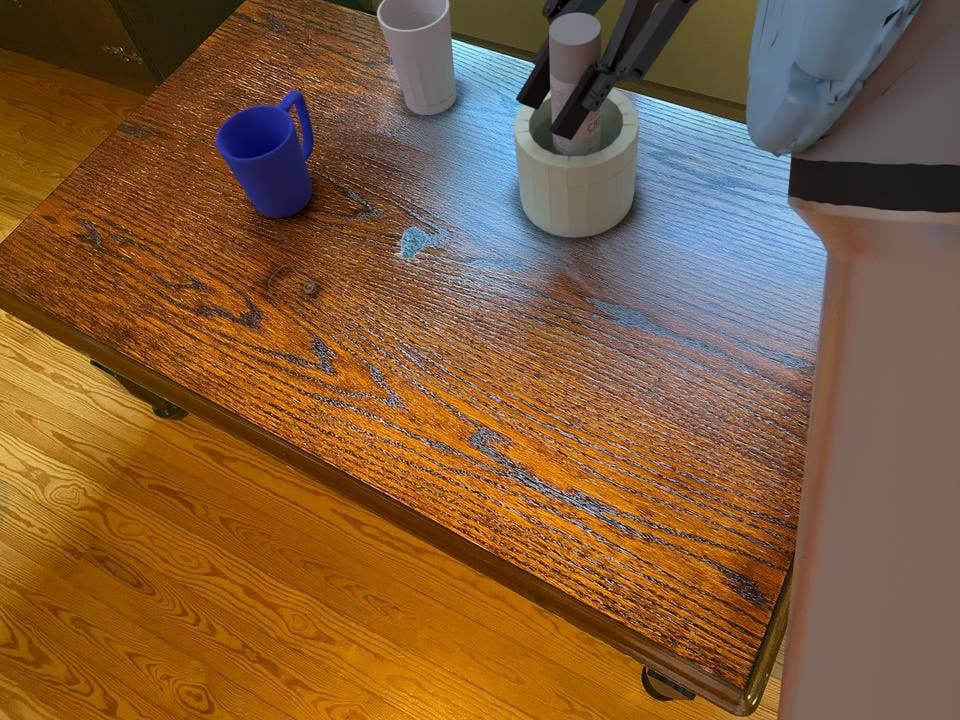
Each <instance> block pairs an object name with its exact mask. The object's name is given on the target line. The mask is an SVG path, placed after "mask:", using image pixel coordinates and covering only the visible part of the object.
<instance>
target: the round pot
mask: <svg viewBox="0 0 960 720" xmlns="http://www.w3.org/2000/svg"><path fill="white" fill-rule="evenodd" d="M551 126H552V110H551V90H550V91H549V93H548V94H547V96H546V98H545V99H544V101H543V102H542V104H541V106H540V107H539V109H538V110H536V109H533V108H531V107H528V106H526V105H523V104H521V106H520V107H519V109H518V112H517V114H516V116H515V118H514V120H513V137H514V147H515V148H514V149H515V156H516V166H517V178H518V186H519V196H520V197H519V198H520V201H521V207H522V210H523V212H524V213H525V215H526V217H527V218H528V220H529V221H530V222H532V224H534V226H536V227H537V228H539V229H541V230H542V231H544V232H546V233H549V234H551V235H555V236H557V237H564V238H574V239H575V238H587V237H592V236H596V235H599V234H602V233H604V232H606V231H608V230H611V229H612V228H614V227H615V226H616V225H617V224H619V223H620V222H621V221H622V220H623V219H624V218H625V217H626V216H627V214H628V213H629V212H630V210H631V207H632V204H633V201H634V195H635V188H636V187H635V186H636V175H637V160H638V148H639V137H640V136H639V134H640V119H639V112H638V110H637V109H636V107H635V105H634V103H633V102H632V100H631V99H630V98H629V97H627V96H626V95H625V94H624V93H622V91H619V90H618V89H616V88H614V87H613V88H612V90H611V91H610V93H609V95H608V96H607V98H606V99H605V101H604V102H603V104H602V105H601V135H600V152H596V153H593V154H589V155H586V156H571V157H568V156H562V155H556V154H554V149H553V133H552V132H551V131H550V130H549V129H550V127H551Z"/></svg>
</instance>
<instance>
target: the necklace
mask: <svg viewBox="0 0 960 720" xmlns="http://www.w3.org/2000/svg"><path fill="white" fill-rule="evenodd" d="M285 266H287V264H284V265H283V267H285ZM288 266H289V267H290V268H292V270H294V271H295V273H296V275H299V273H298V272H297V271H296V270H295V269H294V267H293V266H292V265H290V264H288ZM281 268H282V266H280V267H279V268H278V269H277V270H276V271H275V272H274V274H273V275H272V276H271V277H270V279H269V281H268V283H270V282H271V279H272V278H273V277H274V275H275V274H276V273H277V272H278V271H279V270H280V269H281ZM299 278H301V279H303V280H304V281H305V282H306V283H305V284H304V285H303V287H302V289H303V290H304V292H305V294H310V293H311V294H314V293H315V292H316V291H317V288H316V287H317V286H316V285H315V283H314V282H310V283H309V282H308V281H307V280H306V278H303V277H302V276H301V275H299ZM306 285H307V286H306ZM305 286H306V288H305ZM268 287H269V288H270V289H272V287H271V286H270V285H268ZM287 287H290V285H286V288H287ZM291 287H293V288H297V289H301V287H299V286H294V285H291ZM283 288H284V286H279V287H277V286H276V289H283ZM314 289H315V290H314Z"/></svg>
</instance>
